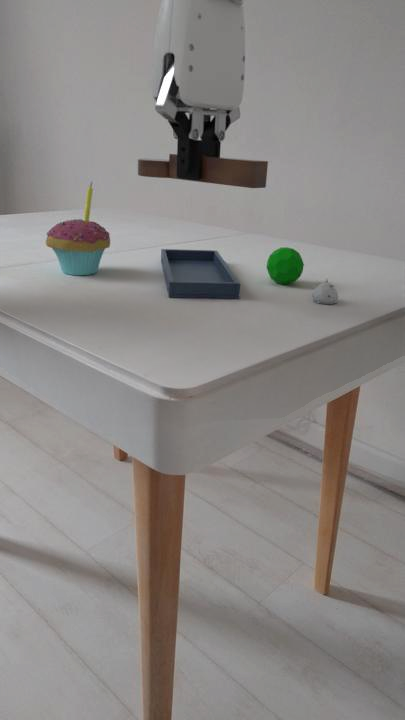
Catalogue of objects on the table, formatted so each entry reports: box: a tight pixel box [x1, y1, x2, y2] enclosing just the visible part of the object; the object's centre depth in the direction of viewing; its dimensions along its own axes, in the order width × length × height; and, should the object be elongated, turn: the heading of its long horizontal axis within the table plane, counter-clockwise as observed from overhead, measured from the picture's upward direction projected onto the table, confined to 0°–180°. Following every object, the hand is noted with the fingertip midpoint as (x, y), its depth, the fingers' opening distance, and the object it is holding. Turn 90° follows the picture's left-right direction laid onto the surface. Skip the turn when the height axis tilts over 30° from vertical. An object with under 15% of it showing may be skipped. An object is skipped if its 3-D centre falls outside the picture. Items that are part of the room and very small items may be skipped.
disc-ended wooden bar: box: [137, 153, 269, 189], centre depth 62 cm, size 17×5×3 cm, turn 49°
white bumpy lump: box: [311, 278, 339, 305], centre depth 70 cm, size 3×4×3 cm
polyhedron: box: [266, 246, 305, 285], centre depth 77 cm, size 5×5×5 cm
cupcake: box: [45, 181, 111, 276], centre depth 76 cm, size 9×8×12 cm
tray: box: [160, 248, 241, 300], centre depth 78 cm, size 9×21×2 cm, turn 6°
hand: (197, 177), depth 63 cm, fingers closed on disc-ended wooden bar, 2 cm apart
